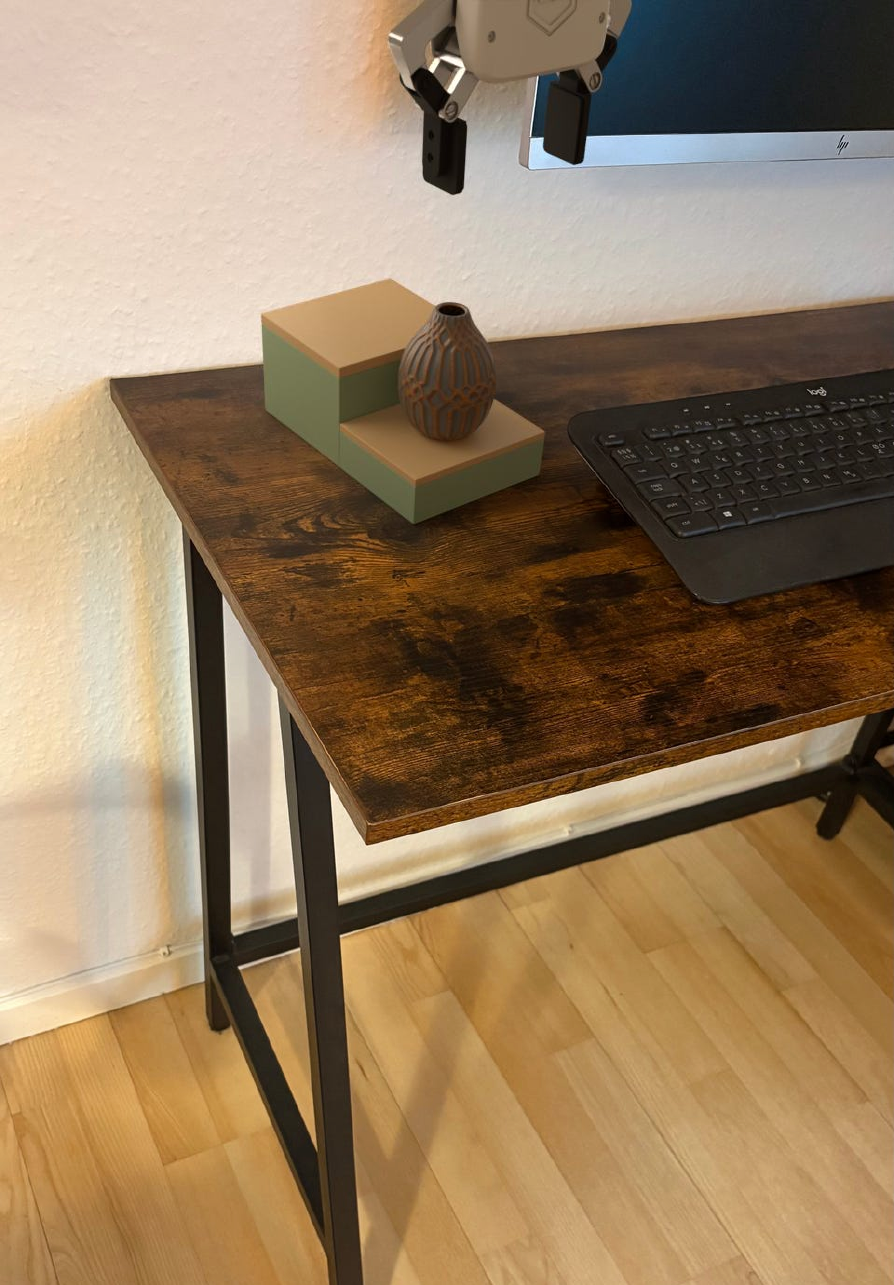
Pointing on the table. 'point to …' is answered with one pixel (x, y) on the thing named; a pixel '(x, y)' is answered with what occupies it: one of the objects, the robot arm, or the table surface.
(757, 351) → the table surface
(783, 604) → the table surface
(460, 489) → the two-step display riser
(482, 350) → the vase
